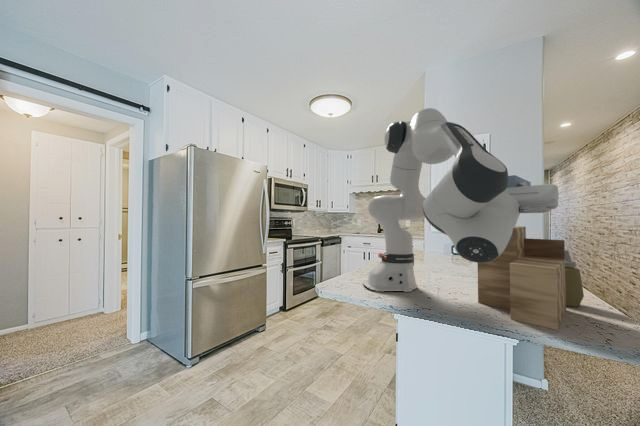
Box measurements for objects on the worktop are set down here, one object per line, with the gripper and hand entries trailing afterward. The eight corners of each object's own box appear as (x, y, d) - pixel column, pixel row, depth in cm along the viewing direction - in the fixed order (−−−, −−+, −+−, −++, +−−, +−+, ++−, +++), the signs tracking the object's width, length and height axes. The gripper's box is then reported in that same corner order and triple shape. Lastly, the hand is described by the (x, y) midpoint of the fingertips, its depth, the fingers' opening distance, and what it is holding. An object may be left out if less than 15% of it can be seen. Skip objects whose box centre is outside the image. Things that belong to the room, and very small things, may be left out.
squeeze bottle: (563, 299, 91) (562, 248, 91) (591, 307, 83) (590, 251, 83) (544, 301, 89) (543, 249, 90) (570, 309, 81) (569, 252, 82)
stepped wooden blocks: (557, 330, 67) (555, 230, 67) (468, 308, 83) (467, 228, 83) (566, 308, 82) (564, 227, 83) (490, 294, 98) (489, 225, 98)
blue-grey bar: (515, 195, 63) (515, 175, 63) (494, 196, 66) (493, 177, 66) (530, 199, 76) (530, 182, 76) (512, 200, 79) (511, 183, 79)
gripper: (555, 196, 50) (561, 168, 58) (447, 201, 66) (464, 179, 74) (557, 223, 52) (563, 193, 60) (452, 222, 68) (468, 198, 76)
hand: (508, 185), depth 67 cm, fingers closed on blue-grey bar, 4 cm apart
